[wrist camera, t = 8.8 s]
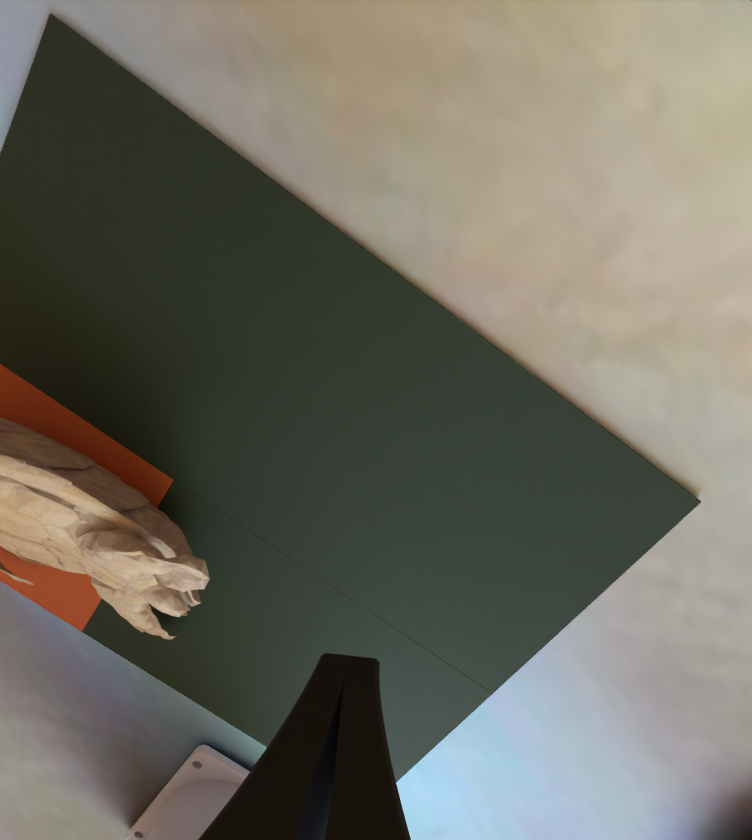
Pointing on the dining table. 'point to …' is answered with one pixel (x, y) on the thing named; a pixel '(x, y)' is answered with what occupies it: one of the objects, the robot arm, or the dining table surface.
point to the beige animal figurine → (93, 529)
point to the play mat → (288, 423)
